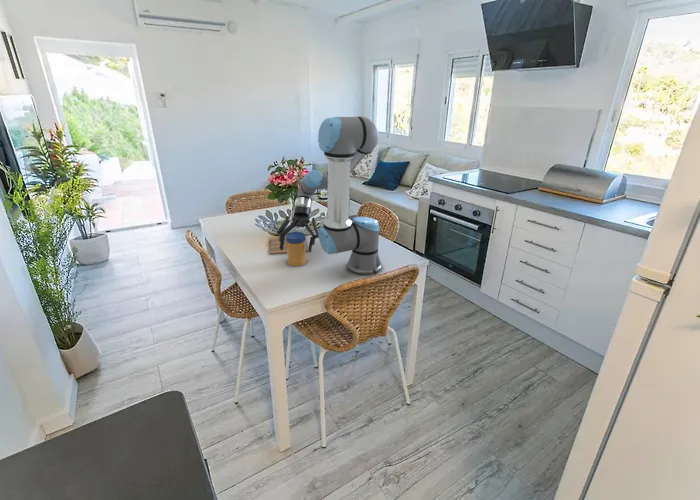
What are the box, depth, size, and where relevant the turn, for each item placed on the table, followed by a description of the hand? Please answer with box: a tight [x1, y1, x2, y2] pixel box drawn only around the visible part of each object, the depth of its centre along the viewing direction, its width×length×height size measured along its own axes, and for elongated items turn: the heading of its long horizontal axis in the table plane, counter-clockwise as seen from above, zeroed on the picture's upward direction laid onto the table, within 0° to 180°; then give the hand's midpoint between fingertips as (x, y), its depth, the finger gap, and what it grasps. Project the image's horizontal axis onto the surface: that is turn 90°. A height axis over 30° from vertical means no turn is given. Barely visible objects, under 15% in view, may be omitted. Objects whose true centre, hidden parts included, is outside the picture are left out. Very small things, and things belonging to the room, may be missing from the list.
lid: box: [285, 231, 306, 244], centre depth 158 cm, size 9×9×2 cm
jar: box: [286, 240, 307, 267], centre depth 161 cm, size 8×8×13 cm
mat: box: [270, 237, 308, 255], centre depth 181 cm, size 20×18×1 cm
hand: (295, 250), depth 160 cm, fingers open, 13 cm apart
